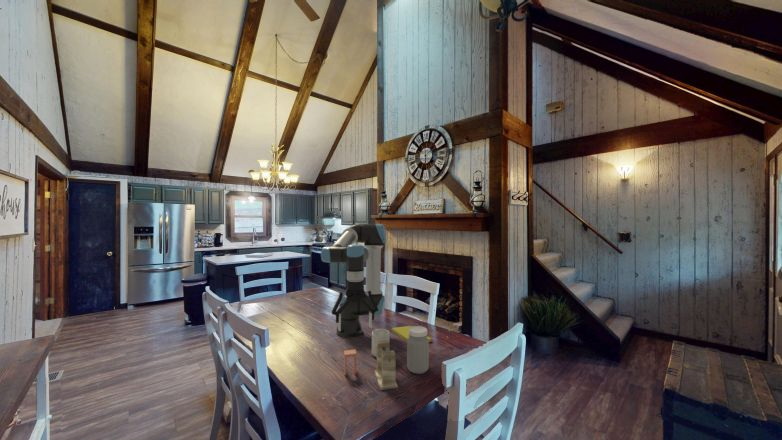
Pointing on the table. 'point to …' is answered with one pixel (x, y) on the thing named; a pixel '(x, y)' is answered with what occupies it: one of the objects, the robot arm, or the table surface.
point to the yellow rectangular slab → (404, 332)
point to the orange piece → (346, 354)
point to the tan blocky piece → (385, 366)
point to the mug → (378, 338)
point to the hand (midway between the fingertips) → (355, 328)
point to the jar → (417, 350)
